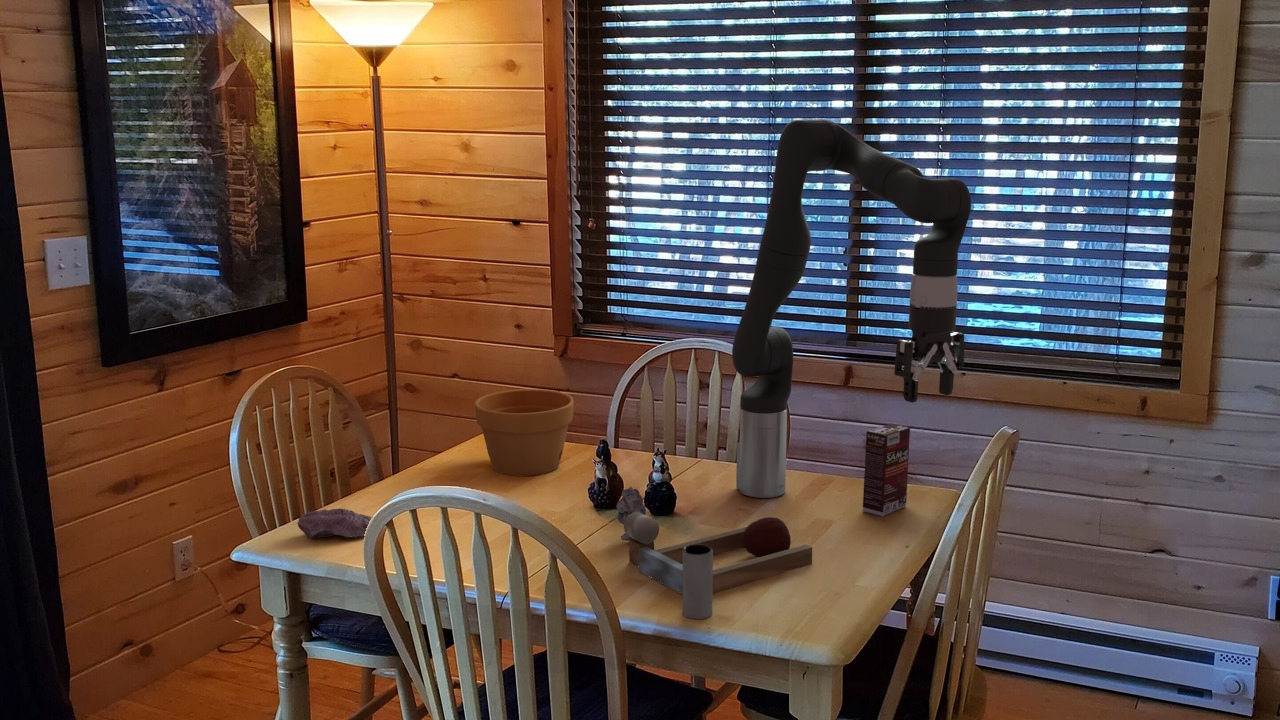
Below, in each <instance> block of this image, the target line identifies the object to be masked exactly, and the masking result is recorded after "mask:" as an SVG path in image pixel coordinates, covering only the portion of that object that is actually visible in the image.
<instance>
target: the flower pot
mask: <svg viewBox="0 0 1280 720" xmlns="http://www.w3.org/2000/svg"><path fill="white" fill-rule="evenodd" d="M574 401H575V400H574V398H573V397H572V396H571V395H570V394H568V393H564V392H561V391H557V390H550V389H535V388H534V389H533V388H530V389H529V388H525V389H524V388H523V389H521V388H519V389H507V390H501V391H496V392H491V393H489V394H488V393H487V394H484V395H483V396H480V397H478V398H477V399H476V400H475V402H474V411H475V418H476V423H477V424H478V426H479V427H480V428H481V430H482V435H483V438H484V442H485V444H486V445H485V446H486V451H487V453H488V454H487V455H488V457H489V461H490V463H491V466H492V468H493V470H495V471H496V472H498V473H499V474H503V475H507V476H508V475H509V476H516V477H517V476H519V477H531V476H539V475H543V474H547V473H550V472H553V471H555V470H556V469H558V468H559V466H560V464H561V460H562V457H563V452H564V447H565V442H566V438H567V433H568V427H569V425H570V423H571V422H572V421H573V418H574V405H575V404H574Z"/></svg>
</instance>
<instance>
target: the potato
mask: <svg viewBox="0 0 1280 720" xmlns="http://www.w3.org/2000/svg"><path fill="white" fill-rule="evenodd" d="M746 527H747V528H746V529H745V531H744V534H743V536H742V542H743V545H744V547H745V548H744V549H745V551H747V553H749V555H751V556H753V557H756V558H759V557H762V556H766V555H770V554H773V553H777V552H781V551H784V550H788V549H791V545H792V540H791V533H790V531H789V528H788V527H787V525H786V523H785V522H784V521H783V520H782V519H780V518H779V517H771V516H770V517H768V516H767V517H763V518H759V519H758V520H755V521H753V522H751V523H750V524H749V525H748V526H746Z"/></svg>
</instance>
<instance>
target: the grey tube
mask: <svg viewBox="0 0 1280 720" xmlns="http://www.w3.org/2000/svg"><path fill="white" fill-rule="evenodd" d="M713 559H714V556H713V549H712V548H711V547H710V546H707V545H703V544H692V545H688V546H685V547H684V548H683V564H682V565H683V595H682V608H681V609H682V615H683V616H684V617H686V618H689V619H692V620H704V619H708V618H710V617H711V616H712V615H713V570H714V567H713V565H714V560H713Z"/></svg>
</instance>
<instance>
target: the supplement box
mask: <svg viewBox="0 0 1280 720" xmlns="http://www.w3.org/2000/svg"><path fill="white" fill-rule="evenodd" d="M910 433H911V428H910V427H908V426H904V425H900V424H895V423H889V424H887V425H883V426H880V427H877V428H874V429H870V430H867V431H866V434H865V440H866V441H865V456H864V458H865V459H864V473H863V474H864V477H863V478H864V479H863V496H862V511H863V512H864V513H866V514H870V515H871V514H872V515H875V516H878V517H884V516H886V515H888V514H891V513H893V512H895V511H898V510H900V509H903V508H906V507H907V497H908V478H909V477H908V475H909V474H908V473H909V472H908V470H909V457H910V456H909V454H910V453H909V452H910V435H911V434H910ZM905 506H906V507H905Z"/></svg>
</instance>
